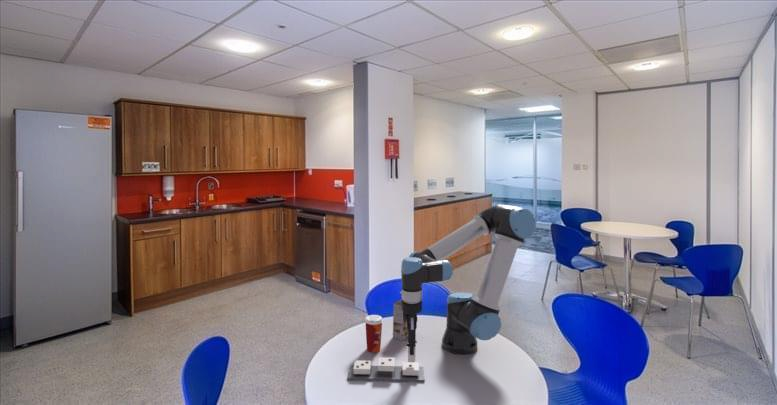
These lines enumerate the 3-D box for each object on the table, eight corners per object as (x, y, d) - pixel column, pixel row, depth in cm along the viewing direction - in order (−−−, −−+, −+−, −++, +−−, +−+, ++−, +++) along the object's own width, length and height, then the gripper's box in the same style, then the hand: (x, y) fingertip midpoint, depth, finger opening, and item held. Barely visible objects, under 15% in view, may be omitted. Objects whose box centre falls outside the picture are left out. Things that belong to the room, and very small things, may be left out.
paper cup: (380, 354, 158) (380, 322, 157) (362, 352, 160) (362, 320, 159) (384, 346, 166) (384, 314, 165) (367, 344, 168) (367, 313, 166)
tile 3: (371, 365, 147) (371, 360, 147) (369, 374, 141) (369, 368, 141) (355, 365, 147) (355, 360, 147) (353, 373, 141) (353, 368, 141)
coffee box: (404, 341, 171) (404, 306, 169) (392, 337, 175) (392, 303, 173) (415, 333, 179) (415, 300, 177) (403, 330, 182) (404, 297, 181)
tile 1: (418, 366, 147) (418, 361, 146) (418, 375, 141) (419, 369, 140) (402, 366, 147) (402, 361, 146) (402, 375, 141) (402, 369, 140)
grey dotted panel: (423, 368, 148) (423, 366, 148) (424, 382, 139) (424, 379, 139) (350, 367, 149) (350, 364, 149) (347, 380, 140) (347, 377, 140)
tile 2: (394, 362, 147) (394, 357, 146) (394, 371, 141) (394, 365, 140) (378, 362, 147) (378, 357, 147) (377, 370, 141) (378, 365, 141)
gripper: (401, 294, 147) (401, 352, 150) (401, 306, 134) (401, 370, 137) (421, 294, 147) (420, 352, 150) (423, 306, 134) (422, 370, 137)
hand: (411, 361), depth 143 cm, fingers closed
